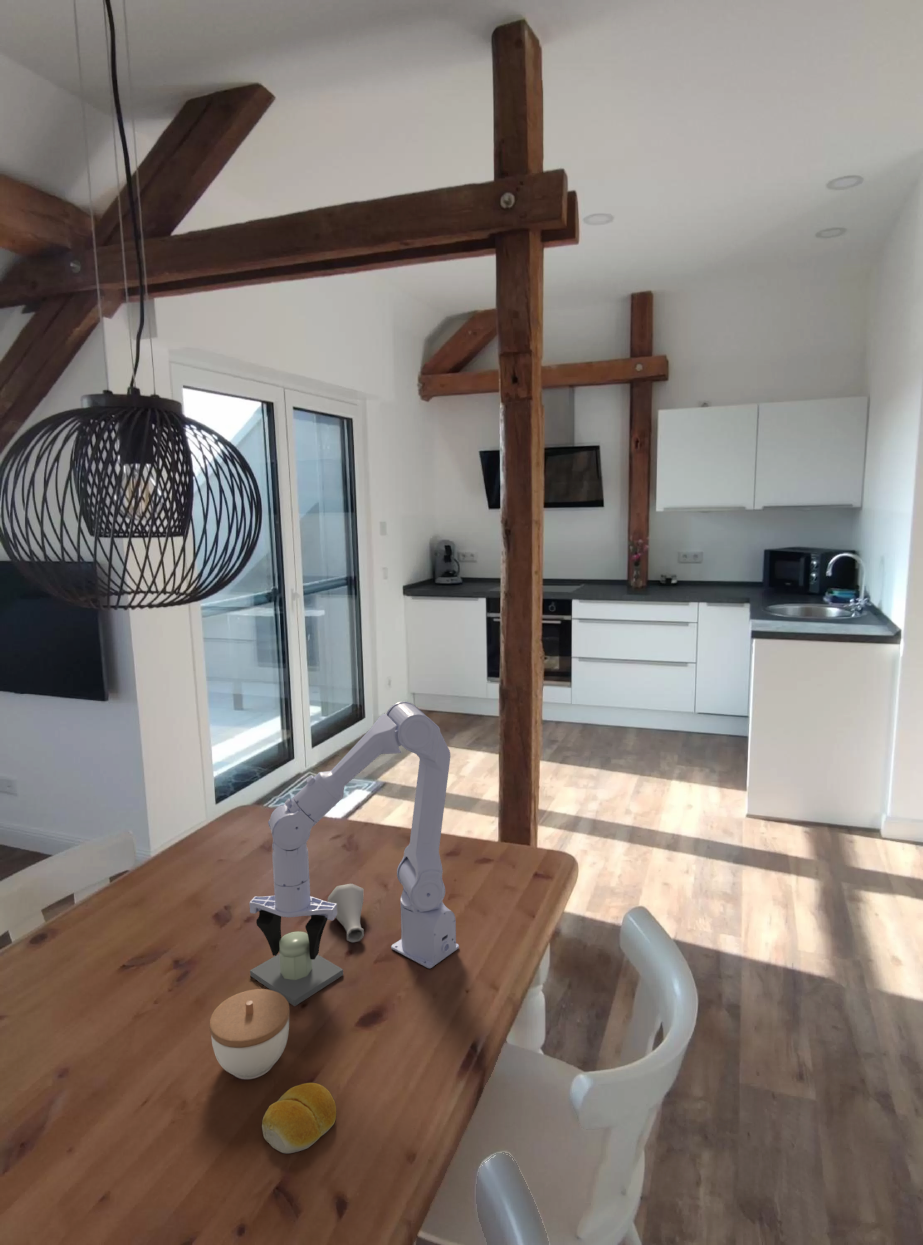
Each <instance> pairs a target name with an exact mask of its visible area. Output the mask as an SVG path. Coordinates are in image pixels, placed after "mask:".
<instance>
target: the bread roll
mask: <svg viewBox="0 0 923 1245" xmlns="http://www.w3.org/2000/svg"><path fill="white" fill-rule="evenodd" d="M336 1118H337V1106H336V1101H335V1100H334V1098H333V1096H332V1094H331V1092H330V1091H329V1090H328V1089H327V1087H325V1086H324V1085H322V1084H319V1083H315V1082H306V1083H301V1084H299V1085H295V1086H292V1087H290V1088H289V1089H288V1090H287V1091H285V1092H284V1093H283V1094H282V1095H281V1096H280V1098H278V1100H277V1101H275V1102H273V1103H271V1104H270V1105H269V1106H268V1108H267V1109H266V1111H265V1113H264V1114H263V1118H262V1122H261V1123H262V1124H261V1129H262V1130H261V1131H262V1135H263V1138H264V1140H265V1141H266V1142H267V1143H269V1145H270V1147H272V1148H273V1149H275V1150H276V1151H278V1152H280V1153H282V1154H294V1153H298V1152H300V1151H301V1152H302V1151H305V1150H306V1149H309V1148H310V1147H312V1145H314V1144H315V1143H316V1142H317V1141H318V1140H320V1138H321V1137H322V1136H324V1135H325V1134H326V1133H327V1132H328V1131H330V1129H331V1128H332V1127H333V1126H334V1124H335V1121H336Z"/></svg>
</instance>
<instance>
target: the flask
mask: <svg viewBox="0 0 923 1245" xmlns="http://www.w3.org/2000/svg"><path fill="white" fill-rule="evenodd" d="M335 886H336V885H335ZM327 902H330V903H337V915H336V917H335V919H336V920H337V921H338V922H339V923H340V924H341V925H342V926H343V929H344V930H345V932H346V941H348V942H350V943H353V944H354V943H357V942H361V940H362V939H363V938H364V936H365V934H364V933H365V931H364V928H362V925H361V914H362V910H363V904H364V888H363V887H360V886H358V885H356V884H355V883H354V884H353V883H347V884H342V885H337V886H336V887H335V888H334V889H333V890H332V892H331V893H330V894H329V895H328V897H327Z"/></svg>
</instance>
